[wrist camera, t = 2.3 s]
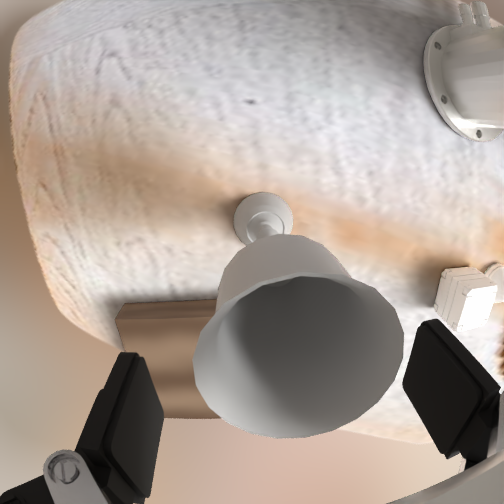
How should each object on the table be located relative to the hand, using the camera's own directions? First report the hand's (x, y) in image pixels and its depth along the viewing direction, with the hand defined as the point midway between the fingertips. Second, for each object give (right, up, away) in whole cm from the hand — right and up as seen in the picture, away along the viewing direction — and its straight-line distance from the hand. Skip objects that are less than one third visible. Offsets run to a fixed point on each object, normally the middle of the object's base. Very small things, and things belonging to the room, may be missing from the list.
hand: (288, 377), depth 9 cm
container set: (+29, +1, +20) cm, 36 cm away
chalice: (0, +7, +17) cm, 18 cm away
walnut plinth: (-6, -7, +21) cm, 23 cm away
